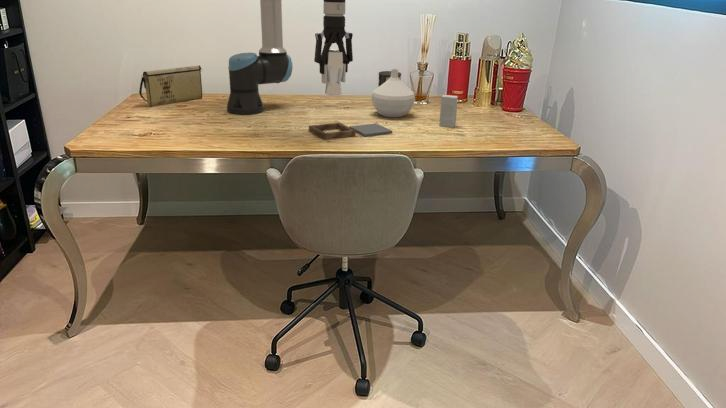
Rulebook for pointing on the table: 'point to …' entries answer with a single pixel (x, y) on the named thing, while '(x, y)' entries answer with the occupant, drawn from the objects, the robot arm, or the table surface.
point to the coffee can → (385, 77)
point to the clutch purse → (172, 85)
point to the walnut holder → (332, 135)
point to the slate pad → (370, 130)
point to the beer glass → (334, 72)
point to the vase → (393, 97)
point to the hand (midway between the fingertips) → (333, 82)
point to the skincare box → (448, 111)
